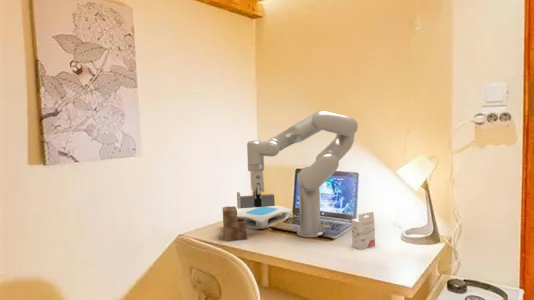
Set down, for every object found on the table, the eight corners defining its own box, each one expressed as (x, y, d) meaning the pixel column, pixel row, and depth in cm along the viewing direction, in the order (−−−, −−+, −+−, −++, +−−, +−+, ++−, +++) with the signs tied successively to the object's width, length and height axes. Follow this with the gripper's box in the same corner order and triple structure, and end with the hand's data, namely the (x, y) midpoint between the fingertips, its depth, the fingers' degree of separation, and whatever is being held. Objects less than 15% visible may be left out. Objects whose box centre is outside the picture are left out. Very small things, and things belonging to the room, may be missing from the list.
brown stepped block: (241, 226, 197) (240, 199, 195) (247, 239, 175) (245, 209, 174) (222, 228, 195) (220, 201, 194) (225, 241, 173) (223, 211, 172)
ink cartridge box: (367, 242, 164) (366, 209, 163) (375, 246, 159) (374, 211, 158) (351, 246, 160) (350, 212, 159) (359, 250, 155) (358, 214, 154)
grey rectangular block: (273, 204, 182) (272, 189, 181) (274, 205, 178) (274, 191, 178) (237, 207, 179) (236, 192, 178) (238, 208, 175) (237, 193, 175)
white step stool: (230, 225, 200) (229, 214, 199) (262, 213, 222) (262, 203, 222) (261, 231, 187) (261, 219, 187) (293, 218, 209) (292, 207, 209)
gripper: (267, 169, 170) (268, 209, 171) (260, 164, 186) (262, 201, 188) (250, 170, 168) (252, 210, 170) (245, 165, 185) (247, 203, 186)
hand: (257, 205), depth 179 cm, fingers closed on grey rectangular block, 3 cm apart
